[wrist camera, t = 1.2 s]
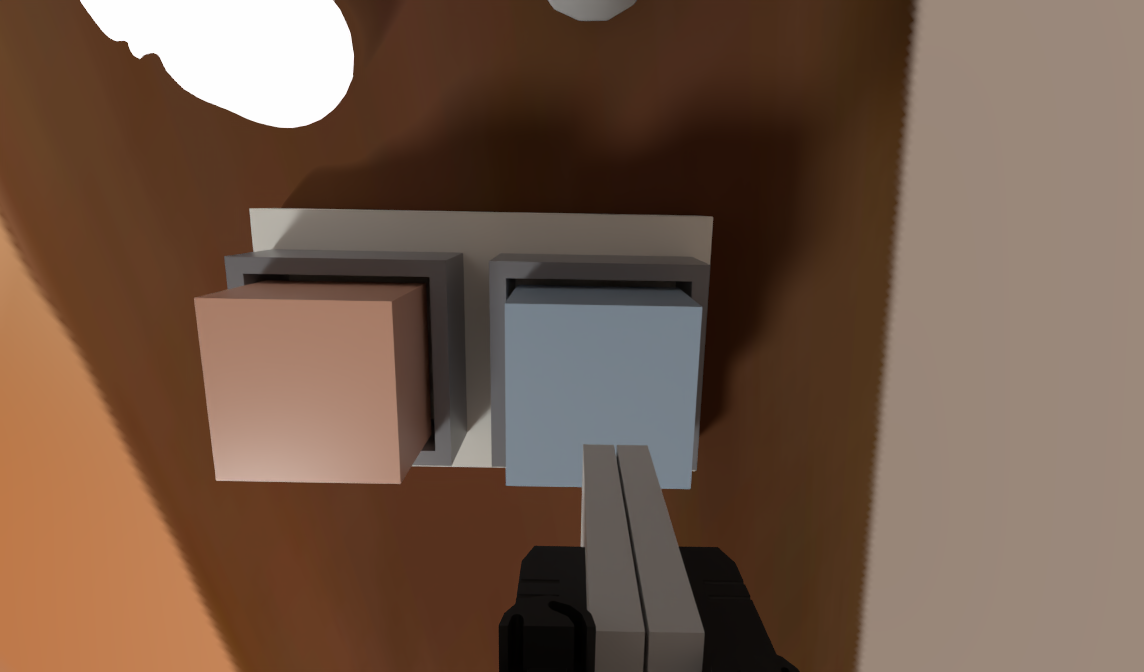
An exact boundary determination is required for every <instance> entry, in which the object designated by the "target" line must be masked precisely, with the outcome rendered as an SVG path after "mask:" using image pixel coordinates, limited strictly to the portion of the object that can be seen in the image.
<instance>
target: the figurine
mask: <svg viewBox="0 0 1144 672" xmlns="http://www.w3.org/2000/svg"><path fill="white" fill-rule="evenodd" d="M80 1H81V3H82V4H83V6H84V7H85V9H86V10H87V11H88V13H89V14H90V15H91V17H92V18H93V19H94V21H95V22H96V23H97V25H98V26H99V27H100V29H101V30H102V31H103V32H104V33H105V34H106V35H107V36H108V37H109V38H110V39H113V40H115V41H126V42H128V45H129V48H130V50H131V52H132V54H133V55H134V56H135V57H137V58H140V59H141V57H142V56H143V55H146V54H149V53H155V54H157V55H159V57H160V58H161V61H162V63H163V65H164V67H165V69H166V71H167V72H168V73H169V74H170V75H171V76H172V78H173V79H174V80H175V81H176V82H177V83H178V84H179V85H180V86H181V87H182V88H183V89H185V90H186V91H188V92H190V93H191V94H193V95H195V96H196V97H198V98H200V99H202V100H204V101H207V102H209V103H212V104H215V105H217V106H219V107H222V108H225V109H227V110H230V111H232V112H234V113H236V114H239V115H241V116H243V117H245V118H247V119H250V120H252V121H255V122H258V123H262V124H266V125H270V126H276V127H284V128H294V127H299V126H305V125H308V124H311V123H313V122H316V121H318V120H320V119H322V118H323V117H324V116H326V115H327V114H328V113H330V112H331V111H332V110H333V109H335V107H336V106H337V105H338V103H339V102H340V101H341V100H342V98H343V97H344V96H345V94H346V92H347V90H348V87H349V85H350V82H351V80H352V78H353V62H354V53H353V47H352V41H351V34H350V31H349V28H348V26H347V24H346V22H345V20H344V17H343V15H342V13H341V11H340V9H339V8H338V6H337V5H336V4H335V2H334V1H333V0H80Z"/></svg>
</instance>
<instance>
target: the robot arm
mask: <svg viewBox="0 0 1144 672" xmlns="http://www.w3.org/2000/svg"><path fill="white" fill-rule="evenodd" d="M499 672H799V670H798V669H797V668H796V667H795V666H793V665H792V664H791V663H789V662H788V661H787V660H785V659H784V658H783V657H781V656H778V655H776V652H775V650H774V648H773V646H772V644H771V641H770V639H769V637H768V635H767V632H766V630H765V628H764V626H763V624H762V621H761V619H760V617H759V615H758V612H757V610H756V608H755V606H754V604H753V601H752V600H750V595H749V592H748V590H747V588H746V586H745V585H744V584H743V579H742V577H741V575H740V572H739V570H738V568H737V566H736V564H735V562H734V561H732V560H731V559H730V558H729V557H728V556H727V555H726V554H725V553H724V552H722V551H721V550H720V549H719V548H718V547H678V544H677V540H676V537H675V534H674V530H673V527H672V524H671V521H670V517H669V514H668V511H667V508H666V504H665V501H664V498H663V494H662V491H661V488H660V485H659V481H658V478H657V475H656V471H655V468H654V465H653V462H652V458H651V455H650V452H649V449H648V445H617V451H616V454H615V448H614V445H592V444H583V473H582V517H581V547H561V546H534V547H533V549H532V550H531V551H530V552H529V553H528V554H527V556H526V557H525V558H524V559H523V560H522V564H521V570H520V577H519V584H518V591H517V598H516V604H515V605H514V606H512V607H511V608H510V609H509V610H508V611H506V612H505V613H504V615H503V617H502V620H501V622H500V624H499Z"/></svg>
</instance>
